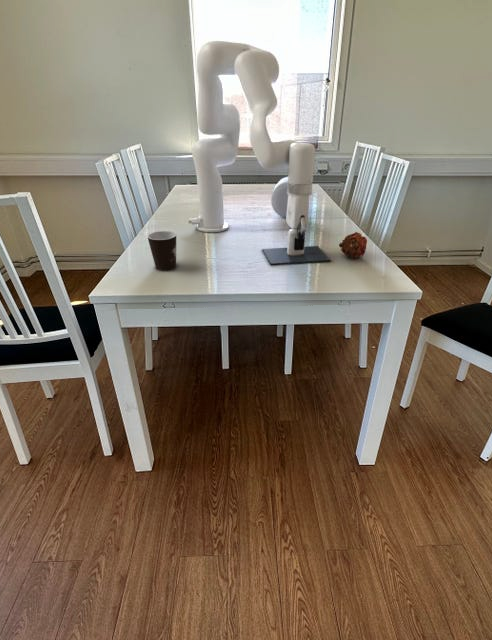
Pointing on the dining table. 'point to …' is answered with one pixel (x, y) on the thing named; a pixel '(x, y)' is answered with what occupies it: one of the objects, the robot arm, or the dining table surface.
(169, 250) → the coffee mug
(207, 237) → the dining table surface
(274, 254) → the mat
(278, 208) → the grey egg shape
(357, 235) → the dragon fruit
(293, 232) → the eye dropper bottle
